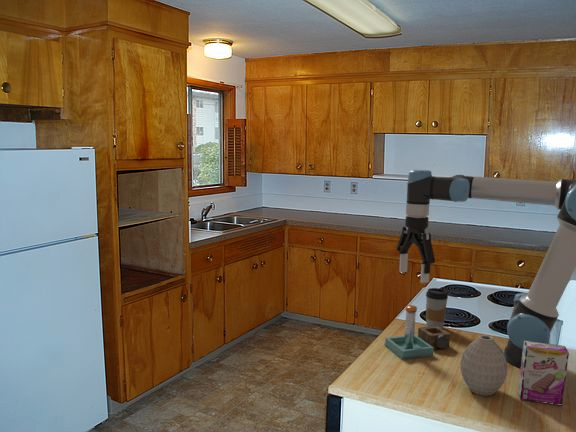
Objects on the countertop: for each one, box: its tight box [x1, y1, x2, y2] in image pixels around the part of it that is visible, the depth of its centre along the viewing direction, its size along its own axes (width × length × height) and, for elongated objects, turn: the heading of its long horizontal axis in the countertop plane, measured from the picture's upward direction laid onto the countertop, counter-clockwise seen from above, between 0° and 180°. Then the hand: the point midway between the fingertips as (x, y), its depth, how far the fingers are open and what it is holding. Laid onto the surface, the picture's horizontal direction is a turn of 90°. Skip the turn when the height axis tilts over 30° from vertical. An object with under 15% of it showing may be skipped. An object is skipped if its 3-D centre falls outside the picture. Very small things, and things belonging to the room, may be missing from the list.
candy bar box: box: [517, 341, 570, 405], centre depth 146 cm, size 11×5×16 cm, turn 74°
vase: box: [460, 334, 508, 397], centre depth 150 cm, size 13×13×17 cm
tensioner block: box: [417, 326, 451, 350], centre depth 184 cm, size 10×8×5 cm
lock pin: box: [404, 304, 418, 350], centre depth 177 cm, size 4×4×15 cm
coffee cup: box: [425, 287, 449, 329], centre depth 200 cm, size 8×8×15 cm
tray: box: [384, 334, 435, 361], centre depth 178 cm, size 12×12×3 cm
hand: (413, 277), depth 175 cm, fingers open, 13 cm apart
